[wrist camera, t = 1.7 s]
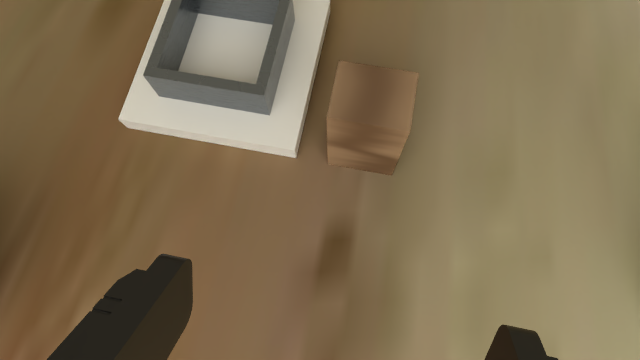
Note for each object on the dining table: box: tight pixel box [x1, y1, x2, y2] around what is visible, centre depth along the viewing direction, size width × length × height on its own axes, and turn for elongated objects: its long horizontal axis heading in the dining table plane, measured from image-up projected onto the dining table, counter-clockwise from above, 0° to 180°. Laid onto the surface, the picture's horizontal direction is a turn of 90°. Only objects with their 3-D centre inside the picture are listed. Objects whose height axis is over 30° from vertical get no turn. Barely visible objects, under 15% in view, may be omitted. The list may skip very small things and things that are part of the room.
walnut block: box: [327, 60, 419, 175], centre depth 29 cm, size 5×4×8 cm
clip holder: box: [119, 0, 330, 158], centre depth 33 cm, size 14×14×4 cm
